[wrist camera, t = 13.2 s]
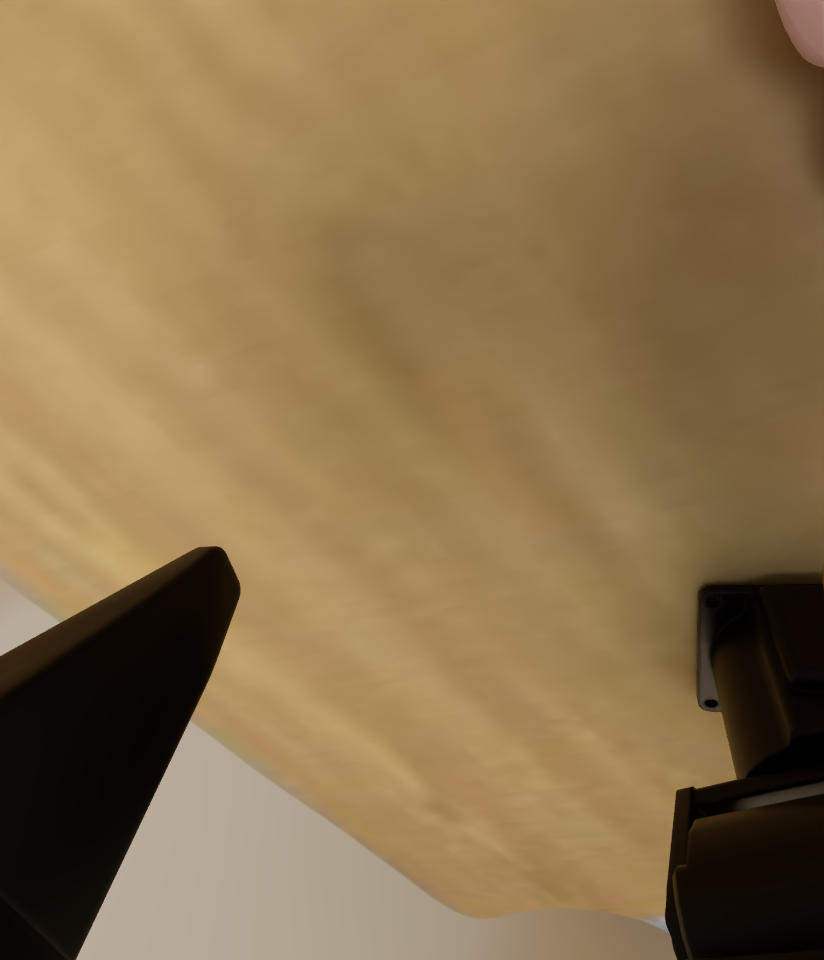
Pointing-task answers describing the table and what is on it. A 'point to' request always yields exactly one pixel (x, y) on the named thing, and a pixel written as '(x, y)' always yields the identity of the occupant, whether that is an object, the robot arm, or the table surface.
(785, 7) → the rabbit figure
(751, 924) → the robot arm
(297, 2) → the table surface
